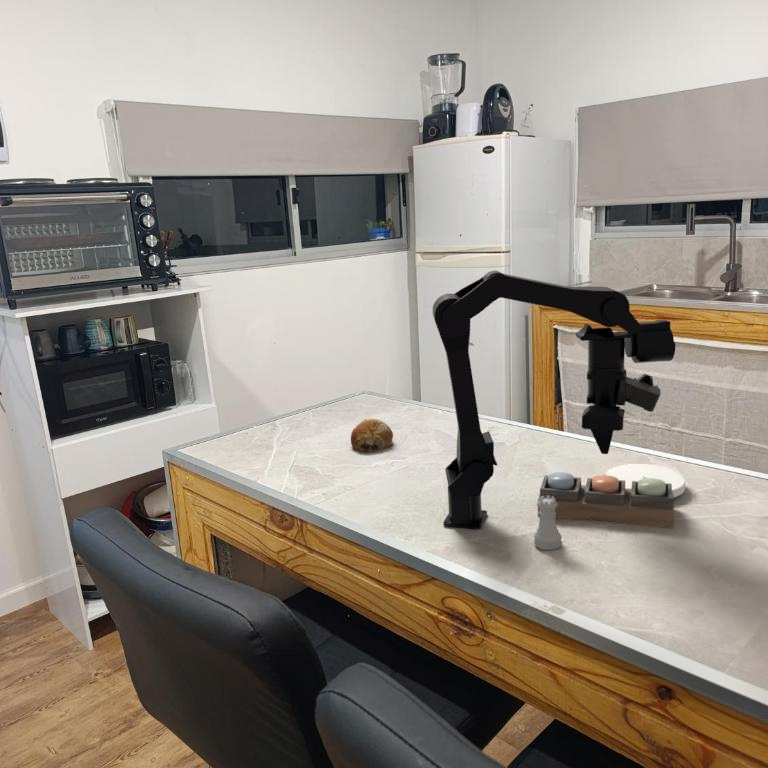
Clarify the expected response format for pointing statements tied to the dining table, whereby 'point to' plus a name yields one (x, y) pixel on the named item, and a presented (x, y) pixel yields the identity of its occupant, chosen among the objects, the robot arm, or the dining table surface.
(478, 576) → the dining table surface
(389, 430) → the bread roll
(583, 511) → the button panel
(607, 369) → the robot arm
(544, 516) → the rook chess piece
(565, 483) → the slate-blue button
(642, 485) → the sage button
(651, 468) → the plastic lid
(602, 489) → the terracotta button
